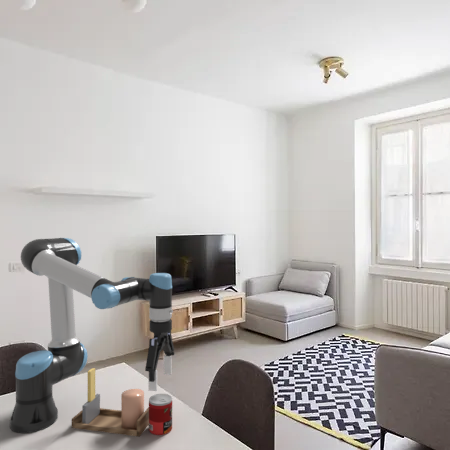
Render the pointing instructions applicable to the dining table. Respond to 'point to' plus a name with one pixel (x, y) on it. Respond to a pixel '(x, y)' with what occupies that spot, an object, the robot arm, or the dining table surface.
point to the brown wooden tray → (111, 422)
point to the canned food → (160, 414)
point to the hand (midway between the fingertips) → (160, 381)
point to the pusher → (91, 400)
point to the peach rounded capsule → (131, 408)
